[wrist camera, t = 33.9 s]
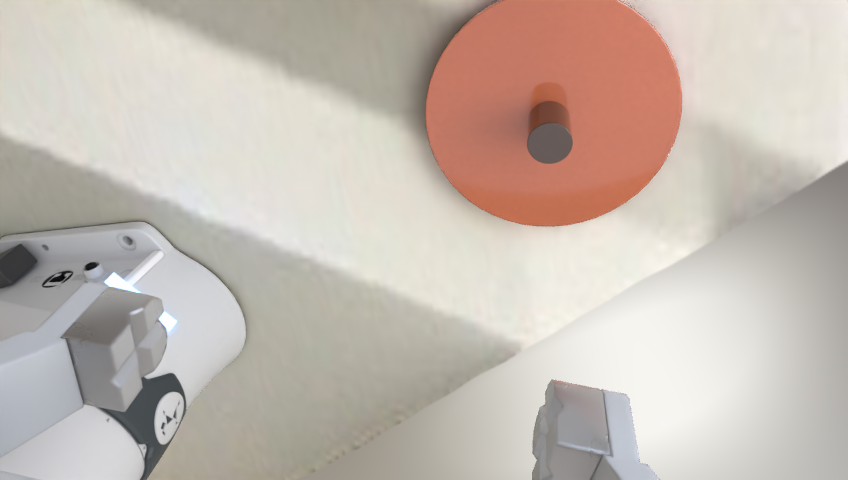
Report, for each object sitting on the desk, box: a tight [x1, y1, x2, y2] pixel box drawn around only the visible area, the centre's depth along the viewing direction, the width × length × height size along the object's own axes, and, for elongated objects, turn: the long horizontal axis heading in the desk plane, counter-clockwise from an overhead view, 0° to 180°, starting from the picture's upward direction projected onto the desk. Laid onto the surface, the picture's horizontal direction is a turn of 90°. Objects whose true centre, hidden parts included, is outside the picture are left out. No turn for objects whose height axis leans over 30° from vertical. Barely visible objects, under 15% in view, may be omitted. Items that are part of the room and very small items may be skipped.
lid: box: [425, 0, 682, 226], centre depth 37 cm, size 16×16×5 cm
